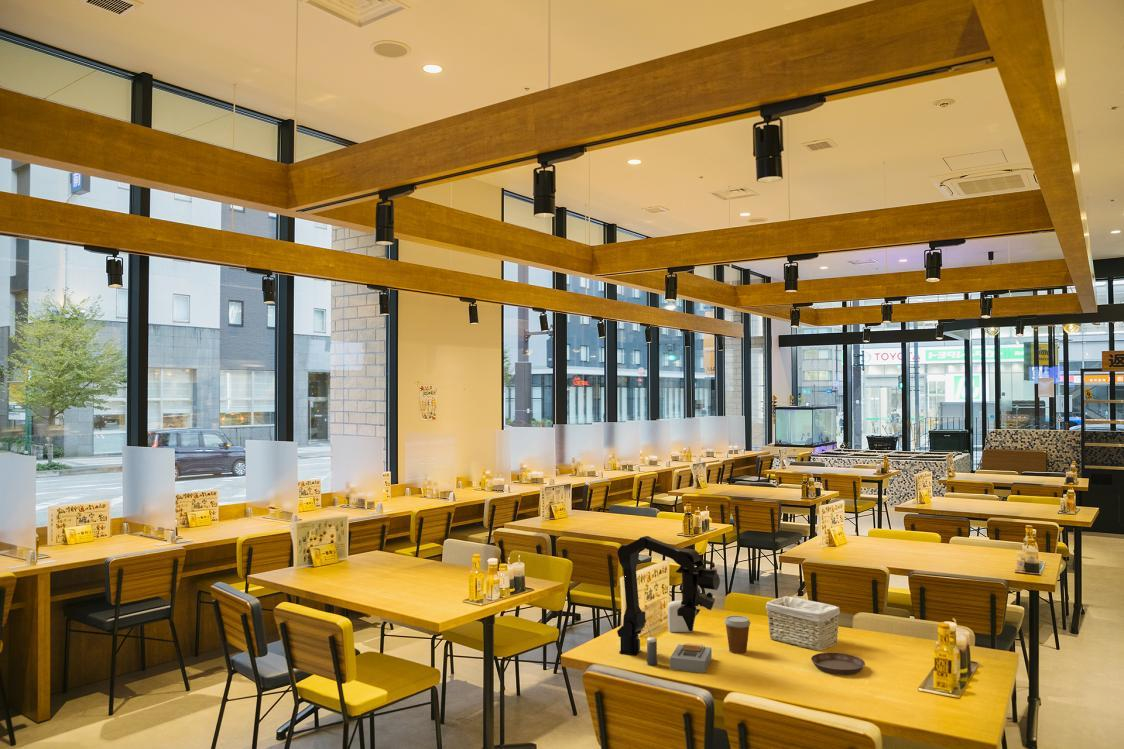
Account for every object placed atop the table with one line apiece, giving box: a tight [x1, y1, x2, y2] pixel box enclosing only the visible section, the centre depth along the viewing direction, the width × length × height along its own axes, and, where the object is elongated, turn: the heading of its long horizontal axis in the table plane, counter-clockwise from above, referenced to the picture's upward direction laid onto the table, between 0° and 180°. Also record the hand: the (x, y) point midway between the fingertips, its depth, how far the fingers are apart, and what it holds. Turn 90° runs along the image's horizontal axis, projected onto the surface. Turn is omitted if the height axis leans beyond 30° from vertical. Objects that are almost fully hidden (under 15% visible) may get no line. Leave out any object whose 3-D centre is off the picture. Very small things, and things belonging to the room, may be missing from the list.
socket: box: [669, 643, 713, 674], centre depth 266 cm, size 12×16×5 cm
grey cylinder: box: [646, 636, 658, 667], centre depth 266 cm, size 3×3×9 cm
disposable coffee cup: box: [724, 615, 751, 655], centre depth 280 cm, size 10×10×12 cm
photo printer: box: [667, 599, 694, 633], centre depth 306 cm, size 10×4×12 cm, turn 88°
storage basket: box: [765, 595, 841, 652], centre depth 292 cm, size 24×16×15 cm
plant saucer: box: [810, 652, 866, 676], centre depth 261 cm, size 18×18×3 cm
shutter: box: [682, 642, 704, 651], centre depth 270 cm, size 6×6×2 cm
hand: (690, 631), depth 266 cm, fingers closed
